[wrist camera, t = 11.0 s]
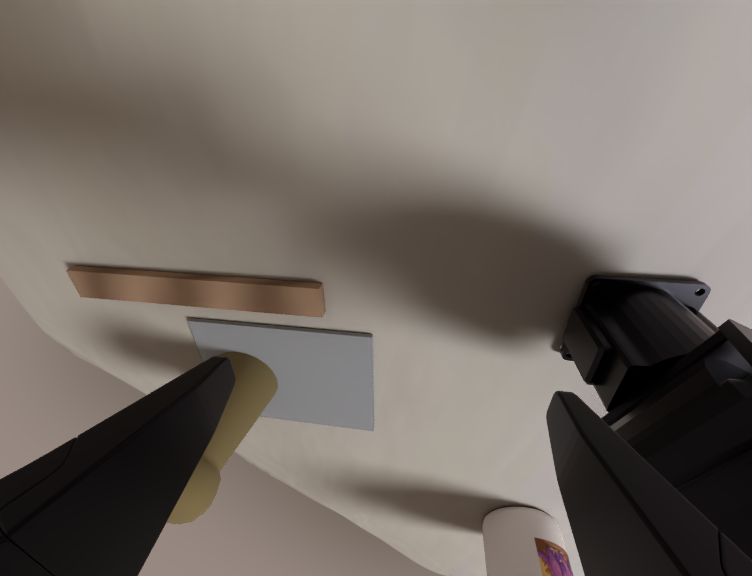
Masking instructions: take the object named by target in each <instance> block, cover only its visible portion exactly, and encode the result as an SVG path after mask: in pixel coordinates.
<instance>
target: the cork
mask: <svg viewBox="0 0 752 576" xmlns="http://www.w3.org/2000/svg"><path fill="white" fill-rule="evenodd" d="M219 356H224V357H228V358H229V359H230V361H231V364H232V367H233V370H234V373H235V377H236V382H235V385H234V388H233V390H232V393H231V395H230V398H229V400H228V402H227V405H226V407H225V409H224V412H223V414H222V417H221V419H220V421H219V424H218V426H217V428H216V431H215V433H214V435H213V437H212V439H211V441H210V443H209V444H208V446H207V448H206V450H205V452H204V454H203V456H202V457H201V459H200V461H199V463H198V465H197V467H196V469H195V470H194V472H193V474H192V476H191V478H190V480H189V482H188V483H187V485H186V487H185V489H184V491H183V493H182V494H181V496H180V498H179V500H178V502H177V504H176V506H175V507H174V509H173V511H172V513H171V515H170V517H169V519H168V520H167V522H168V523H172V524H182V523H187V522H192V521H193V520H195V519H196V518H198V517H199V516H200V515H202V514H203V513H204V512H205V511H206V510H207V509H208V508H209V506H210V505H211V504H212V502H213V500H214V498H215V496H216V493H217V490H218V487H219V483H220V470H221V469H222V468H223V466H224V465H225V463H226V462H227V461H228V459H229V458H230V456H231V455H232V454H233V452H234V451H235V449H236V448H237V447H238V445H239V444H240V442H241V441H242V440H243V438H244V437H245V436H246V434H247V433H248V431H249V430H250V429H251V427H252V426H253V424H254V423H255V422H256V420H257V419H258V417H259V416H260V415H261V413H262V412H263V411H264V409H265V408H266V406H267V405H268V404H269V402H270V401H271V399H272V398H273V397H274V395H275V394H276V391H277V389H278V382H277V378H276V376H275V374H274V372H273V371H272V370H271V369H270V368H269V367H268V366H267V365H266V364H265V363H264V362H262V361H261V360H259V359H258V358H256V357H254V356H251V355H249V354H246V353H241V352H225V353H223V354H221V355H219Z"/></svg>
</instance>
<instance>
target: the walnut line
mask: <svg viewBox="0 0 752 576" xmlns="http://www.w3.org/2000/svg"><path fill="white" fill-rule="evenodd" d="M66 271H67V273H68V275H69V277H70V279H71V280H72V282H73V284H74V286H75V288H76V289H77V291H78V293H79V295H80V297H88V298H100V299H111V300H123V301H135V302H147V303H158V304H170V305H182V306H194V307H205V308H217V309H229V310H241V311H252V312H264V313H276V314H288V315H299V316H311V317H323V315H324V313H325V302H324V292H323V283H313V282H299V281H285V280H271V279H257V278H243V277H229V276H214V275H200V274H186V273H172V272H158V271H144V270H130V269H116V268H102V267H88V266H74V267H72V268H70V269H68V270H66Z"/></svg>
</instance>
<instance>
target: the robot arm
mask: <svg viewBox="0 0 752 576" xmlns="http://www.w3.org/2000/svg"><path fill="white" fill-rule="evenodd" d="M595 282H599V283H598V284H597V285H596V286H592V285H593V284H594V283H595ZM698 289H700V290H699V291H697V292H695V291H696V290H698ZM710 291H711V289H710V287H709V286H708V285H706V284H705V283H703V282H700V281H686V280H669V279H653V278H636V277H620V276H604V275H593V276H591V277H589V278H588V279H587V280H586V282H585V284H584V287H583V290H582V293H581V295H580V298H579V301H578V304H577V306H575V307H574V308H573V309H572V312H571V315H570V318H569V320H568V323H567V326H566V329H565V332H564V334H563V340H564V342H563V345H562V347H561V350H560V353H561V355H562V357H563V359H565V360H569V361H574V362H575V364H576V366H577V368H578V370H579V372H580V374H581V376H582V378H583V380H584V381H585V382H586V383H587V384H588V385H594V387H595V389H596V391H597V393H598V395H599V397H600V399H601V401H602V402H603V404H604V406H605V408H606V410H607V411H608V412H609V413H608V414H606V415H605V416H604V417H602V418H600V417H599V416H598V415H597V414H596V413H595V412H594V411H593V410H592V409H590V408H589V407H588V406H587V405H586V404H585V403H584V402H583V401H582V400H581V399H580V398H579V397H578V396H577V395H575V394H574V393H572V392H564V391H556V392H555V393H554V395H553V397H552V400H551V402H550V405H549V408H548V410H547V415H546V419H547V426H548V431H549V437H550V443H551V448H552V454H553V460H554V465H555V471H556V476H557V481H558V484H559V488H560V492H561V495H562V499H563V502H564V505H565V509H566V512H567V516H568V519H569V523H570V526H571V529H572V533H573V536H574V540H575V543H576V547H577V550H578V553H579V557H580V560H581V564H582V567H583V571H584V574H585V576H752V329H749V328H747V327H745V326H743V325H741V324H739V323H737V322H735V321H733V320H730V319H729V320H727V321H726V322H725V323H723V324H722V325H721V326H719V327H718V328H717V327H716V326H715V325H714V324H713V323H712V322H710V321H709V320H708V319H707V318H706V317H705V316H703V315H702V314H701V313H700V312H699V310H700V308H701V307H702V305H703V303H704V302H705V300H706V298H707V297H708V295H709V293H710ZM569 352H570V353H569ZM567 353H569V354H567ZM235 382H236V377H235V373H234V370H233V367H232V364H231V361H230V359H229V358H228V357H224V356H213V357H211V358H209V359H208V360H206V361H204V362H203V363H201V364H199V365H197V366H196V367H194V368H192V369H191V370H189V371H187V372H186V373H184V374H182V375H180V376H179V377H177V378H175V379H174V380H172V381H170V382H168V383H167V384H165V385H163V386H162V387H160V388H158V389H157V390H155V391H153V392H151V393H150V394H148V395H147V396H145V397H143V398H141V399H140V400H138V401H136V402H135V403H133V404H131V405H129V406H128V407H126V408H124V409H123V410H121V411H119V412H117V413H116V414H114V415H112V416H111V417H109V418H107V419H105V420H104V421H102V422H100V423H99V424H97V425H95V426H94V427H92V428H90V429H89V430H87V431H85V432H83V433H82V434H80V435H78V437H77V438H73V439H71V440H70V441H68V442H66V443H64V444H63V445H61V446H59V447H58V448H56V449H54V450H53V451H51V452H49V453H47V454H45V455H44V456H42V457H40V458H38V459H37V460H35V461H33V462H31V463H30V464H28V465H26V466H24V467H22V468H20V469H18V470H17V471H15V472H13V473H11V474H9V475H7V476H5V477H4V478H2V479H0V576H138V574H139V572H140V570H141V569H142V567H143V565H144V563H145V561H146V559H147V558H148V556H149V554H150V552H151V550H152V548H153V546H154V545H155V543H156V541H157V539H158V537H159V535H160V533H161V531H162V529H163V528H164V526H165V524H166V522H167V520H168V519H169V517H170V515H171V513H172V511H173V509H174V507H175V506H176V504H177V502H178V500H179V498H180V496H181V494H182V493H183V491H184V489H185V487H186V485H187V483H188V482H189V480H190V478H191V476H192V474H193V472H194V470H195V469H196V467H197V465H198V463H199V461H200V459H201V457H202V456H203V454H204V452H205V450H206V448H207V446H208V444H209V443H210V441H211V439H212V437H213V435H214V433H215V431H216V428H217V426H218V424H219V421H220V419H221V417H222V414H223V412H224V409H225V407H226V405H227V402H228V400H229V398H230V395H231V393H232V390H233V388H234V385H235Z"/></svg>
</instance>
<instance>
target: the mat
mask: <svg viewBox="0 0 752 576" xmlns="http://www.w3.org/2000/svg"><path fill="white" fill-rule="evenodd" d="M188 323H189V326H190V329H191V331H192V334H193V337H194V339H195V342H196V345H197V347H198V350H199V353H200V355H201V358H202V361H203V362H204V361H206V360H208V359H209V358H211V357H213V356H219V355H221V354H223V353H225V352H241V353H246V354H249V355H251V356H254V357H256V358H258V359H259V360H261V361H262V362H264V363H265V364H266V365H267V366H268V367H269V368H270V369H271V370H272V371H273V372H274V374H275V376H276V378H277V382H278V389H277V391H276V394H275V395H274V397H273V398H272V399H271V401H270V402H269V404H268V405H267V406H266V408H265V409H264V411H263V412H262V413H261V415H260V416H259V417H267V418H275V419H282V420H290V421H298V422H306V423H314V424H321V425H329V426H337V427H345V428H352V429H360V430H368V431H374V396H373V338H372V334H363V333H352V332H341V331H330V330H319V329H308V328H297V327H285V326H274V325H263V324H252V323H241V322H230V321H219V320H208V319H197V318H190V319H189V320H188Z"/></svg>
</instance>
